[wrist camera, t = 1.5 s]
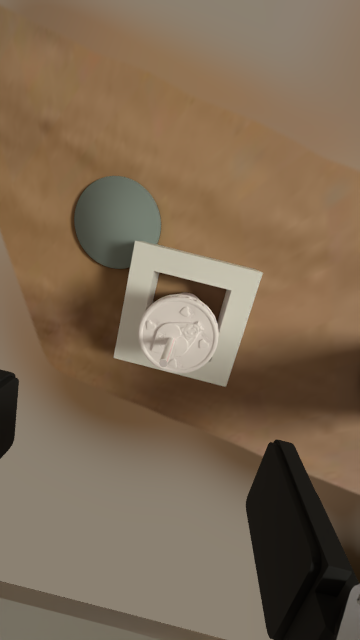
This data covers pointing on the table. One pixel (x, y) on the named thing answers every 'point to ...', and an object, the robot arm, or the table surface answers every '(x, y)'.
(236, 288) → the holder
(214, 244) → the table surface
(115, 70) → the table surface
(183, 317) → the lidded cup with straw
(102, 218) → the coaster
